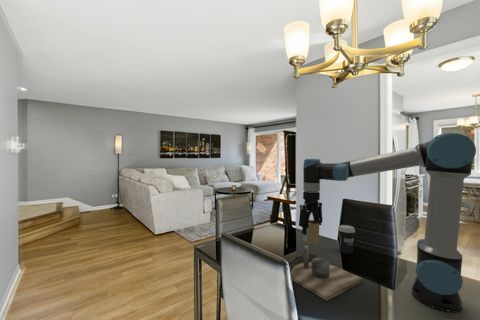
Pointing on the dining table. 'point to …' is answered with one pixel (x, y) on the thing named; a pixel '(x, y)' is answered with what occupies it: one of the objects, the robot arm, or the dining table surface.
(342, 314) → the dining table surface
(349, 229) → the coffee cup
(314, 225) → the tan piece
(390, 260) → the dining table surface
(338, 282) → the carrier
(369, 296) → the dining table surface
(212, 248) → the dining table surface
